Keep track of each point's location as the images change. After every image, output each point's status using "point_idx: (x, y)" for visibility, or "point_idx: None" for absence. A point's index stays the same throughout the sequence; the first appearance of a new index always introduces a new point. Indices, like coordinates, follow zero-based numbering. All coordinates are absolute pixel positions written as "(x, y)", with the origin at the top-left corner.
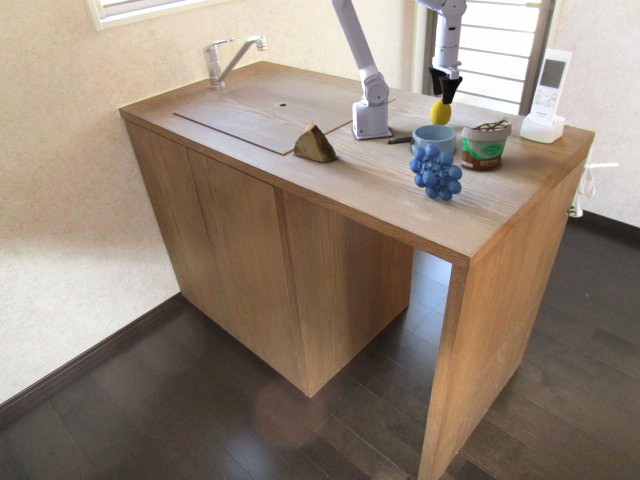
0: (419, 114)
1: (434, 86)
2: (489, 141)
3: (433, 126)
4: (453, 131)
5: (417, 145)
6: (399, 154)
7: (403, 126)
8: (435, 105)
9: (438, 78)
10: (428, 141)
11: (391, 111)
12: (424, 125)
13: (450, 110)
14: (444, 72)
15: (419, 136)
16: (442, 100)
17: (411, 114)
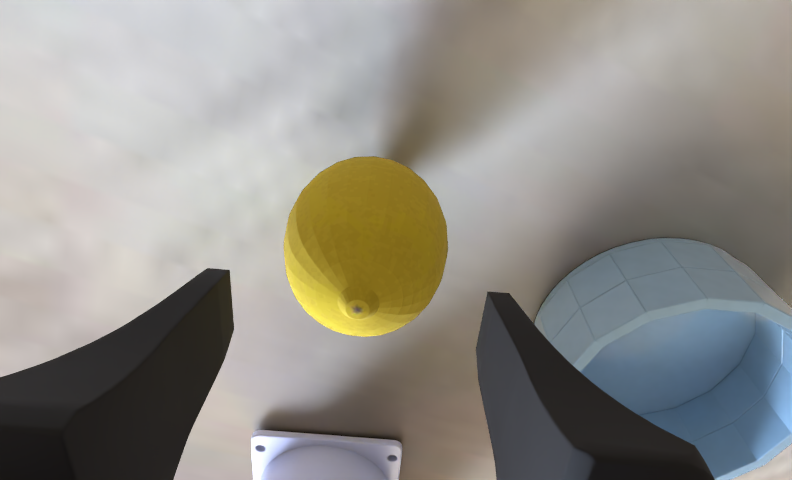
0: (105, 219)
1: (202, 392)
2: None
3: (577, 369)
4: (739, 311)
5: None
6: None
7: (286, 358)
8: (374, 334)
9: (164, 429)
10: (764, 464)
11: (32, 344)
12: None
13: (421, 210)
14: (119, 431)
15: None
16: (481, 378)
17: (98, 263)
